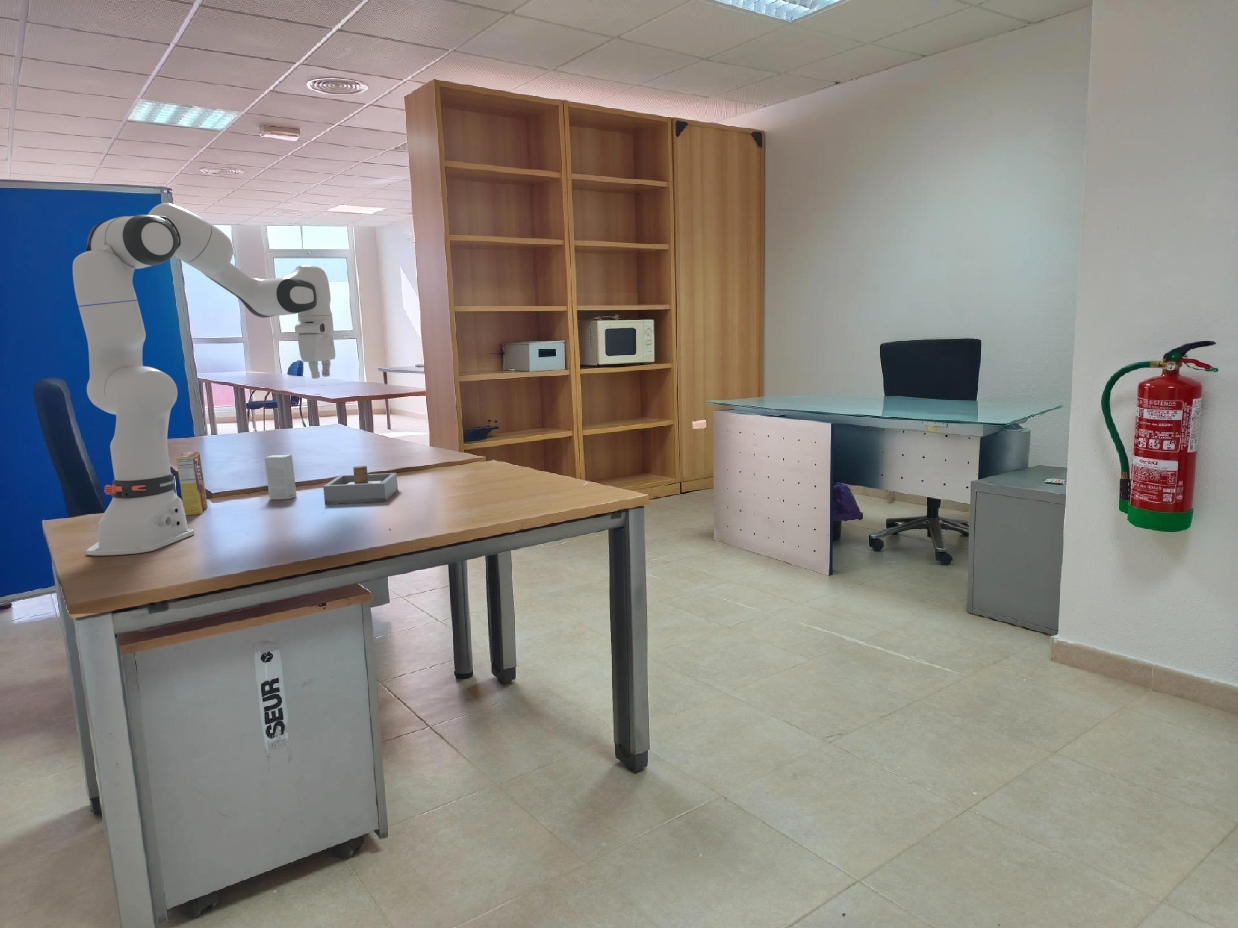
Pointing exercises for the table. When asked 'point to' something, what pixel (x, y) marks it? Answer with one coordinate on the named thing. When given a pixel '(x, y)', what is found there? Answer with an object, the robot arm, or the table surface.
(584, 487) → the table surface
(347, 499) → the tray
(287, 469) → the skincare box
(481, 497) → the table surface
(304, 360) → the robot arm
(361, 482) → the peg
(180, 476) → the candy box
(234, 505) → the table surface
